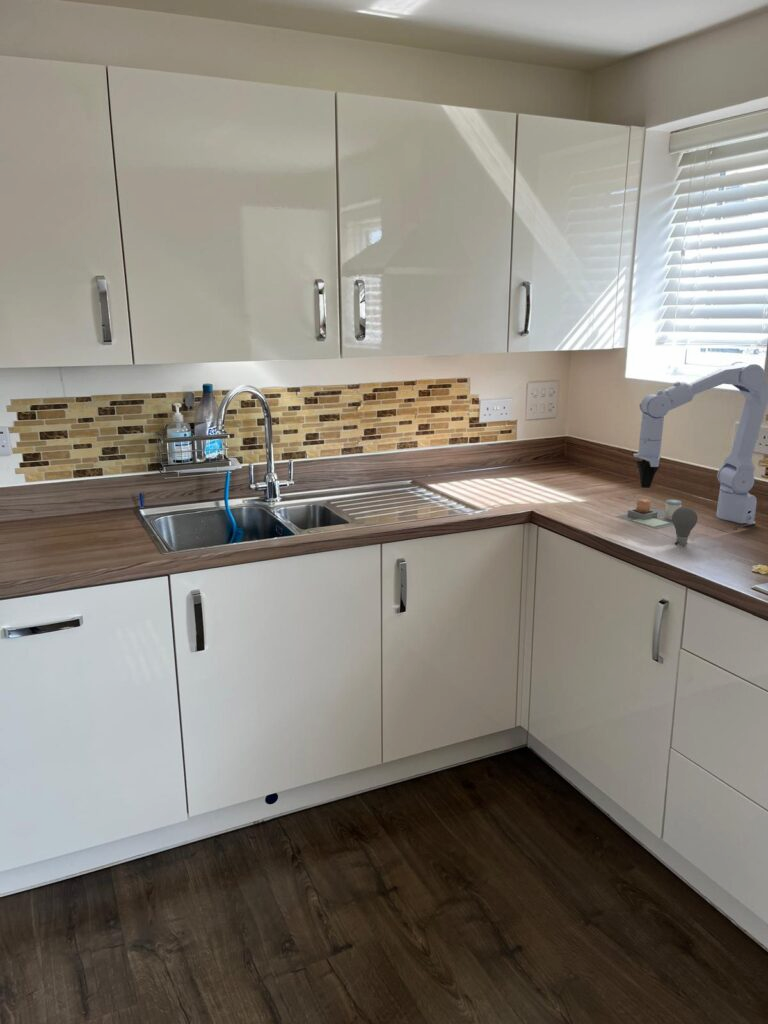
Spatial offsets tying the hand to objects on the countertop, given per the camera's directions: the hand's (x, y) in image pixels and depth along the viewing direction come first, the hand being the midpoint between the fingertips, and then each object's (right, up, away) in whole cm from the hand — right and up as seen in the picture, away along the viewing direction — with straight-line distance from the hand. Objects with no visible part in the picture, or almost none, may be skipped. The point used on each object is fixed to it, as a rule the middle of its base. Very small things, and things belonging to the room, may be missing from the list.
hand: (645, 487), depth 212 cm
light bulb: (+3, -15, -19) cm, 24 cm away
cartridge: (+8, -10, +2) cm, 13 cm away
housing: (+3, -10, +1) cm, 10 cm away
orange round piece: (0, -7, +2) cm, 7 cm away
